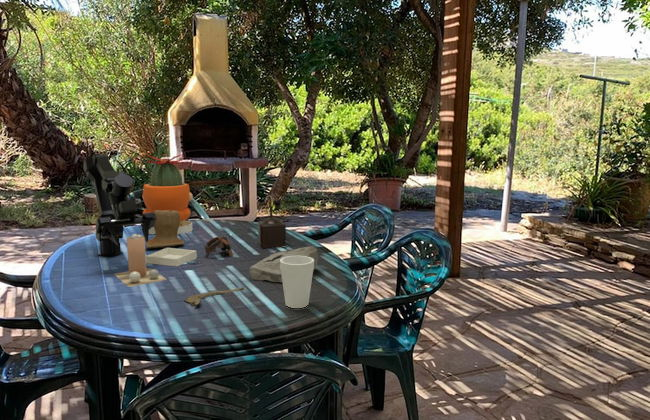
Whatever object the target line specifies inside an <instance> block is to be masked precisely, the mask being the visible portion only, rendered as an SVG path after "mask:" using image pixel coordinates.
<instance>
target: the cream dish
mask: <svg viewBox="0 0 650 420" xmlns="http://www.w3.org/2000/svg"><path fill="white" fill-rule="evenodd" d="M197 252H198V251H197V250H194V249H193V250H192V249H184V248H183V249H182V248H174V247H173V248H172V247H164V248H163V249H160V250H158V251H155V252H153V253H150V254H148V255H146V264H151V265H160V266H171V267H179V266H181V265H184V264H185V263H188V262H193V261H195V260H196V259H198V254H197Z"/></svg>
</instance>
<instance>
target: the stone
mask: <svg viewBox="0 0 650 420" xmlns="http://www.w3.org/2000/svg"><path fill="white" fill-rule="evenodd" d="M287 256H307V257H311V258H313V259H314V269H316V268H317V266H318V259H319V252H318V249H317V248H316V245H310V246H305V247H304V246H303V247H299V248H295V249H292V250H288V251H283V250H281V251H278V252H275V253H272V254H270V255H269V256H267V257H265V258H263V259H262V260H260V261H258V262H257V263H254V264H253V265H251V266H250V267H249V275H250V279H251V280H254V281H265V280H266V281H269V282H271V283H273V282H274V283H282V284H283V282H282V274H281V270H280V259H282V258H283V257H287Z"/></svg>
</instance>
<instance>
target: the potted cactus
mask: <svg viewBox="0 0 650 420" xmlns="http://www.w3.org/2000/svg"><path fill="white" fill-rule="evenodd" d="M179 157H181V154H178V155H176V156H173V157H171V158H169V156H166V158H165V157H160V158H161V159H160V158H158V157H155V156H152V155H150V156H149V158H151V159H154V160H156V161H154V160H148V163H150V164H151V163H152V164H155V165H154V166H153V169H152V170H151V172H150V175H148V177H149V178H148V181H149V183H144V184H143V187H142V199H143V202H144V206H145V209H143V211H142V215H143V213H150V212H153V213H154V211H156V210H160V211H178V212H179V214H180V224H179V228H178V232H177V235H181V234H182V233H183V234H188V233H190V231H191V232H193V222H192V221H189V220H188V219H189V218H190V216H192V215H191V214H192V213H191V212H192V211H191V209H190V208H189V207H188V206H189V203H190V202H191V201H192V200H193V193H192V192H190V191H191V189H190V185H189V183H185V181H183V175H182V171H181V170H180V169H179V166H177V164H178V162H181V161H183V159H179V160H175V159H177V158H179ZM142 215H141V216H142ZM187 232H188V233H187ZM154 234H156V232H155V228H154V227H152V228H151V229H149V235H154Z"/></svg>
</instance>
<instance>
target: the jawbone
mask: <svg viewBox="0 0 650 420" xmlns="http://www.w3.org/2000/svg"><path fill="white" fill-rule="evenodd" d="M242 290H245V288H244V286H241V287H237V288H234V289H227V290H212V291H208V292H203V293H197V294H194V295H190V296H188V297H187V298H186V299H184V300H183V302H186V303H189V304H190V307H194V306H198V305H199V304H200V303H201V300H202V299H206V298H209V297H212V296H216V295H223V294H227V293H233V292H237V291H242Z"/></svg>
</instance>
